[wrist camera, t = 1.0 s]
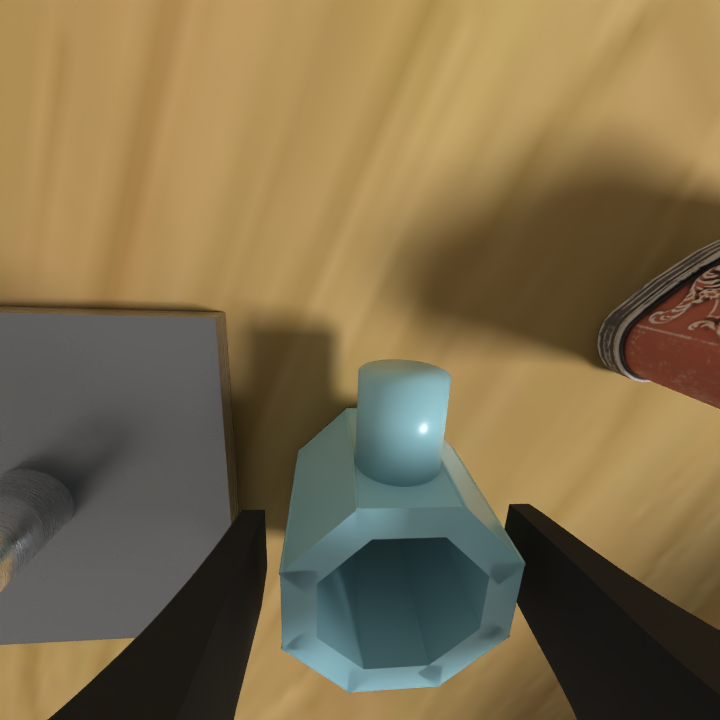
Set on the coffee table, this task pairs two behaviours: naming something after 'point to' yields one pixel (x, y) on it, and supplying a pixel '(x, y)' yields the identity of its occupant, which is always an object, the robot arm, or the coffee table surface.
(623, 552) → the coffee table surface
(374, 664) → the elbow collar
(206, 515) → the base
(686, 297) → the lighter
